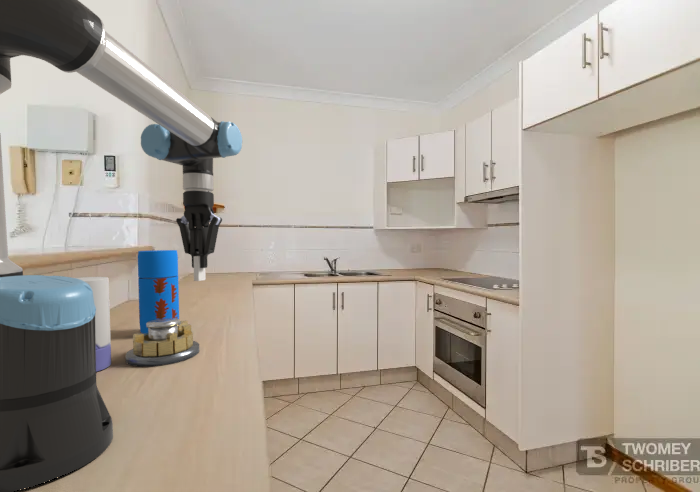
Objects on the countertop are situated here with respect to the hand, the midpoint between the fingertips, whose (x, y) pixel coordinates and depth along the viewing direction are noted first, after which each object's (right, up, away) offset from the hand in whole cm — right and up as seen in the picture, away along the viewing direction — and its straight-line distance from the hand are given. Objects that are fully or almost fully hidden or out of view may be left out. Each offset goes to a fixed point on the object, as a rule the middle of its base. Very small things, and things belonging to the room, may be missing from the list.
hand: (199, 280), depth 96 cm
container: (-19, -18, -16) cm, 31 cm away
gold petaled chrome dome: (-6, -16, -4) cm, 17 cm away
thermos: (-18, -18, +15) cm, 29 cm away
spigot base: (-6, -18, -8) cm, 20 cm away
